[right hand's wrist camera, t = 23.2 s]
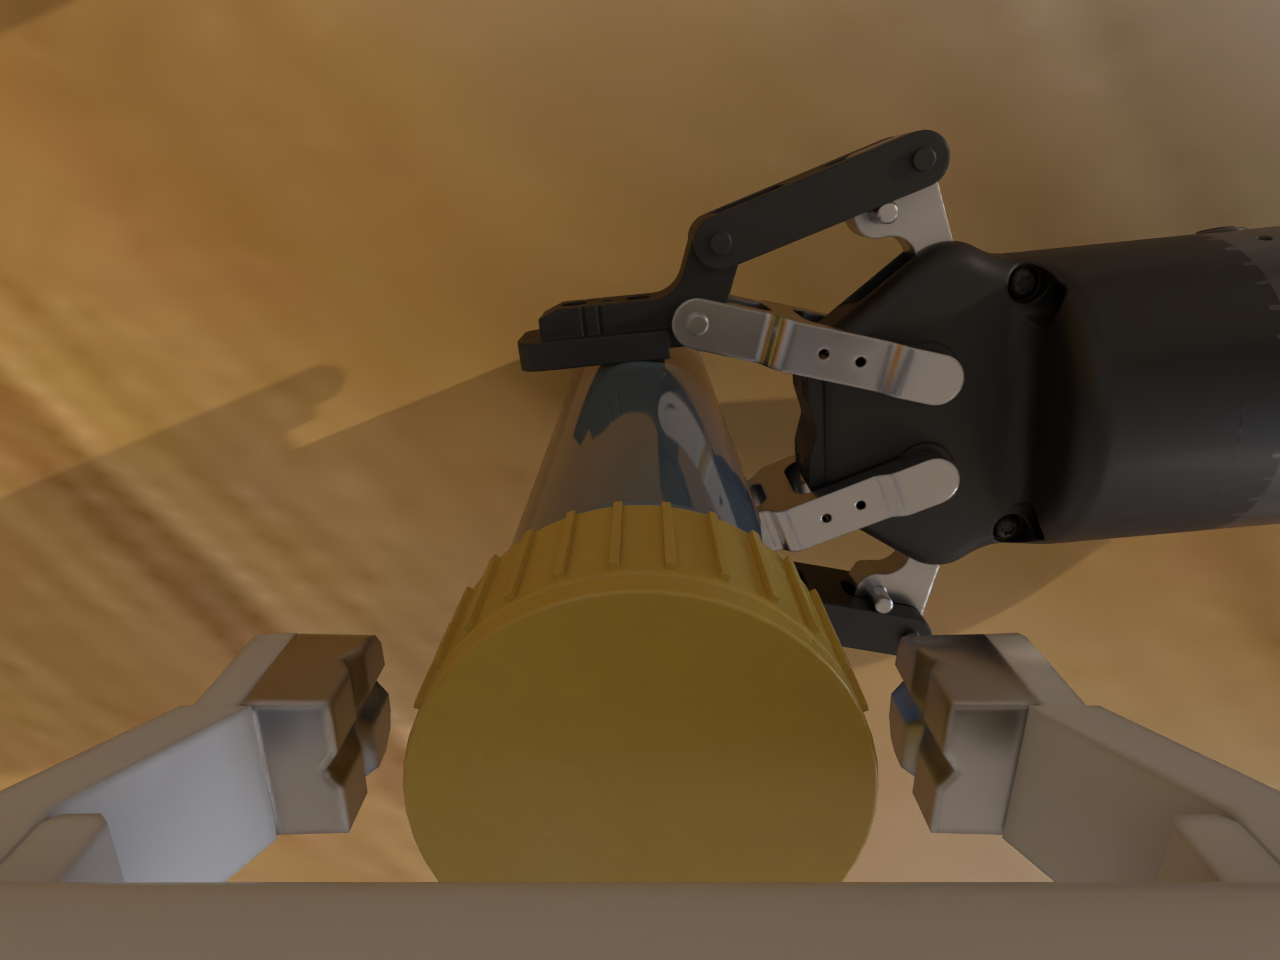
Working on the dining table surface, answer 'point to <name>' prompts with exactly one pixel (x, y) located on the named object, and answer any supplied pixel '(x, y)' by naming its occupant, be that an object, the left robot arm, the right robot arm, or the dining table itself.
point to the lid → (640, 714)
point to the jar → (641, 446)
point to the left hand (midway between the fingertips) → (540, 445)
